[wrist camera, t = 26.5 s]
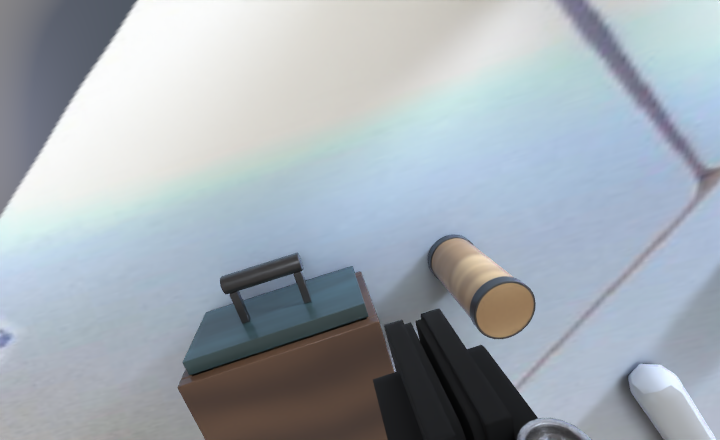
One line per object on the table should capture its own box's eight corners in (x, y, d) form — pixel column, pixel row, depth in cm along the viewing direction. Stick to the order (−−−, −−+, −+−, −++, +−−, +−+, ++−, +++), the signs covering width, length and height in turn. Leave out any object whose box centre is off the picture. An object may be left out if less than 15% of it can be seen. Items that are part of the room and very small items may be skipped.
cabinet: (206, 320, 34) (176, 387, 26) (360, 271, 35) (379, 320, 26) (265, 445, 39) (256, 535, 30) (399, 399, 39) (424, 474, 31)
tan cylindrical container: (422, 244, 35) (468, 294, 25) (468, 227, 35) (530, 271, 26) (434, 285, 36) (481, 348, 27) (477, 269, 36) (540, 326, 27)
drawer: (186, 271, 31) (156, 313, 25) (339, 223, 32) (349, 252, 26) (263, 434, 37) (255, 502, 31) (390, 390, 38) (409, 447, 31)
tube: (635, 404, 39) (714, 518, 47) (690, 387, 37) (763, 508, 45) (610, 364, 44) (686, 473, 52) (658, 346, 42) (730, 462, 50)
